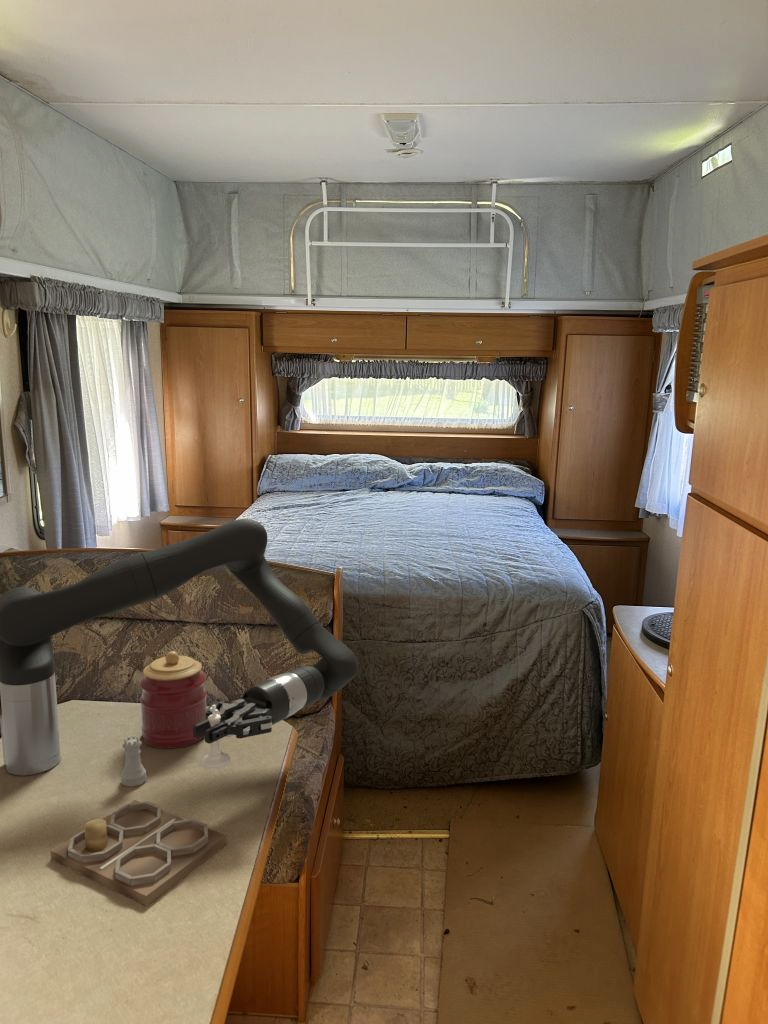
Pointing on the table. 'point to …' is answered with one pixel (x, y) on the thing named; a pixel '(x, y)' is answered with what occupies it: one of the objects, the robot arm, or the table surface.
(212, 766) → the chess piece
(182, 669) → the canister
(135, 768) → the rook chess piece
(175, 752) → the table surface
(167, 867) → the brown octagon slot tray
